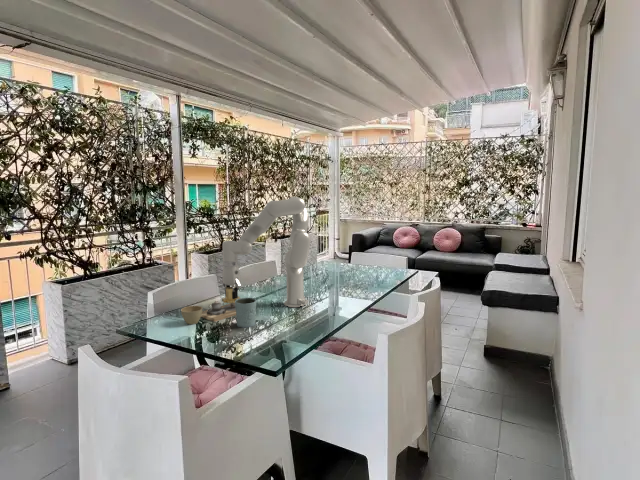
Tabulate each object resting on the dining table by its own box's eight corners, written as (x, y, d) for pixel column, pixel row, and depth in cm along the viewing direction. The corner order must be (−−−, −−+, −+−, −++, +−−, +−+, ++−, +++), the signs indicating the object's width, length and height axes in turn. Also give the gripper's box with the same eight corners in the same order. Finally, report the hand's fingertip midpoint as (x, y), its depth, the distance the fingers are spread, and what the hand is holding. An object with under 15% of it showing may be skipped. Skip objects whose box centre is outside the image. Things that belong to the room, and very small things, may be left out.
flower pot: (183, 327, 180) (182, 313, 179) (180, 321, 189) (179, 307, 188) (205, 324, 185) (204, 309, 184) (201, 318, 194) (200, 304, 193)
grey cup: (238, 320, 189) (237, 297, 187) (259, 320, 188) (258, 297, 187) (233, 328, 179) (232, 303, 177) (254, 328, 178) (254, 303, 177)
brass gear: (244, 300, 205) (244, 287, 204) (229, 304, 197) (229, 291, 196) (233, 297, 211) (233, 284, 210) (218, 300, 204) (217, 288, 203)
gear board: (253, 309, 207) (253, 296, 206) (214, 321, 188) (213, 307, 187) (236, 304, 216) (236, 291, 215) (197, 315, 197) (196, 302, 197)
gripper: (246, 265, 199) (247, 298, 201) (226, 261, 210) (227, 293, 212) (234, 267, 193) (235, 301, 196) (214, 263, 204) (216, 296, 207)
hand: (231, 297), depth 204 cm, fingers closed on brass gear, 5 cm apart
